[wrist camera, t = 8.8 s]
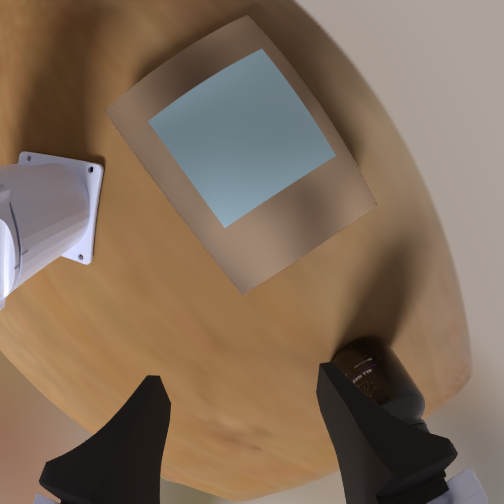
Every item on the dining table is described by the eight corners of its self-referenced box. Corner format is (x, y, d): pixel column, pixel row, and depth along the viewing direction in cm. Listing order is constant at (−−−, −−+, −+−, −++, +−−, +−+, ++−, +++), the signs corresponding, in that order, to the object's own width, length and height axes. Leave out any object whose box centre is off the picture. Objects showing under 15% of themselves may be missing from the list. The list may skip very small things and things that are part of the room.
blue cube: (228, 205, 15) (224, 228, 10) (175, 132, 13) (147, 121, 9) (304, 155, 14) (336, 155, 9) (253, 82, 13) (261, 48, 8)
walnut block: (240, 269, 20) (242, 295, 17) (128, 118, 16) (104, 111, 12) (352, 195, 19) (377, 204, 15) (245, 39, 15) (247, 14, 11)
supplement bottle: (337, 335, 23) (390, 440, 12) (396, 332, 24) (459, 415, 13) (319, 386, 25) (352, 482, 14) (374, 380, 26) (417, 461, 15)
